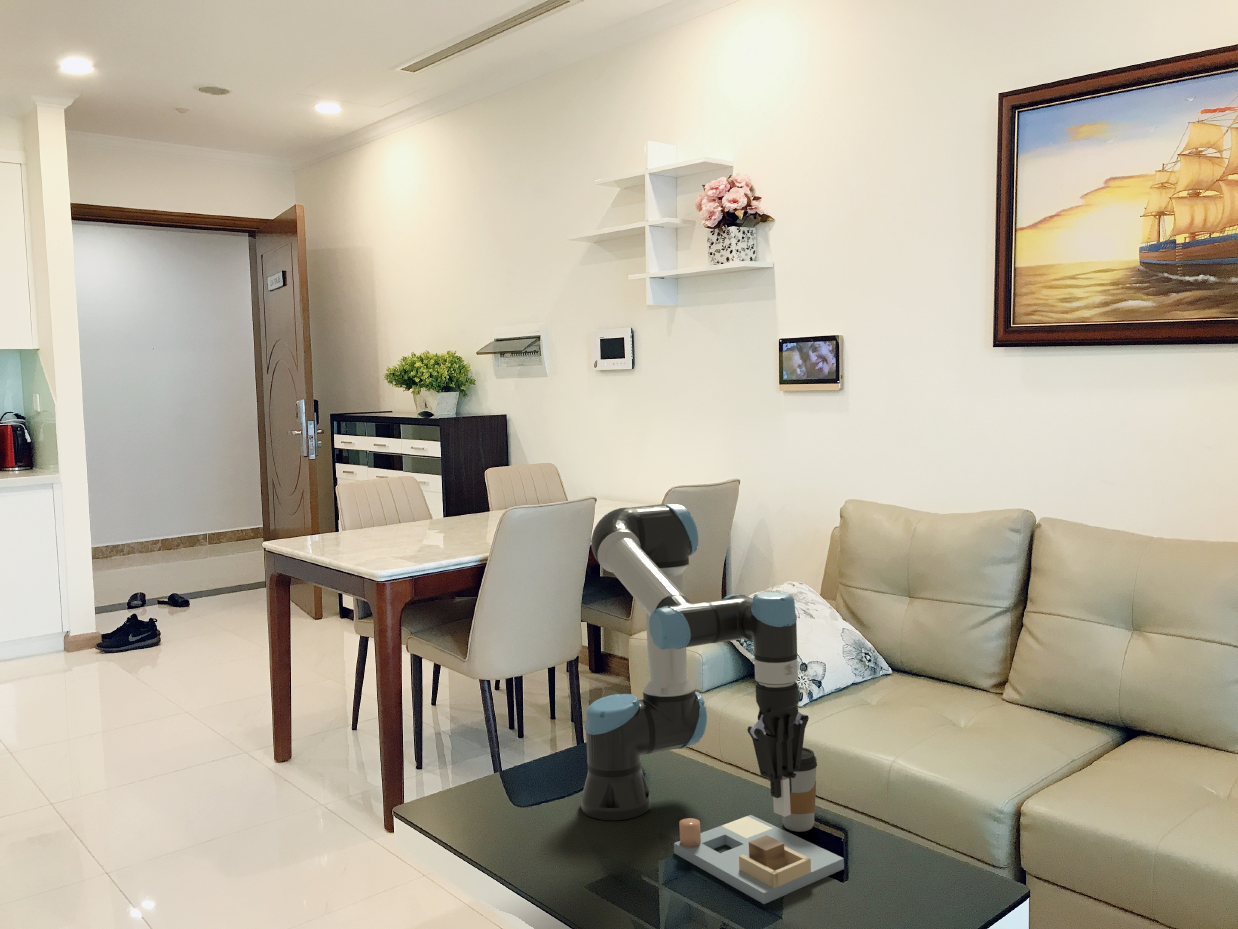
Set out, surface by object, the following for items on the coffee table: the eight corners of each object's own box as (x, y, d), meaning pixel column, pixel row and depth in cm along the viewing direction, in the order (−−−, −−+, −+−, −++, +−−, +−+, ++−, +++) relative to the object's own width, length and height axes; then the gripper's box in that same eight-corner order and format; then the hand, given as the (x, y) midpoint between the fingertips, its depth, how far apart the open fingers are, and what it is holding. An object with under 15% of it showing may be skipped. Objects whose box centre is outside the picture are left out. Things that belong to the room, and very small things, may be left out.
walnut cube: (749, 866, 176) (748, 842, 175) (767, 858, 178) (766, 835, 178) (766, 875, 172) (765, 850, 172) (784, 867, 174) (784, 843, 174)
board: (674, 853, 186) (673, 830, 186) (751, 824, 198) (750, 802, 197) (764, 904, 166) (763, 878, 166) (844, 869, 177) (843, 845, 177)
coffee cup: (819, 835, 191) (816, 761, 191) (776, 833, 193) (774, 759, 192) (819, 817, 200) (816, 746, 199) (778, 815, 201) (776, 745, 200)
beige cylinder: (675, 842, 186) (675, 822, 186) (691, 836, 189) (691, 816, 189) (688, 849, 183) (688, 829, 183) (705, 843, 185) (704, 823, 185)
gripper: (764, 693, 163) (770, 830, 164) (818, 678, 170) (823, 810, 171) (734, 684, 169) (740, 817, 170) (788, 671, 176) (793, 797, 177)
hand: (782, 813), depth 171 cm, fingers closed
